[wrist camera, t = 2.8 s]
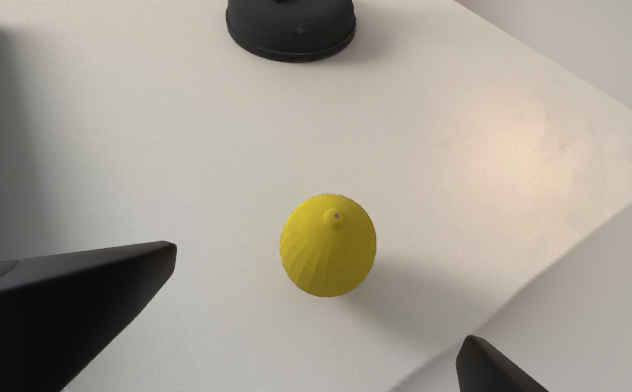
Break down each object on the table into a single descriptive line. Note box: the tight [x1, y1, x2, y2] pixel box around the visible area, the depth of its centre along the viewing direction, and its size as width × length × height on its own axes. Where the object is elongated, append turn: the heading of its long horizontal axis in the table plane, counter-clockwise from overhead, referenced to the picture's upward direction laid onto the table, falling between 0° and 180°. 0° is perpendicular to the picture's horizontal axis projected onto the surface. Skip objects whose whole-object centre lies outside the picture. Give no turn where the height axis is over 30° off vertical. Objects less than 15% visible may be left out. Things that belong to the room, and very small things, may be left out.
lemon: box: [280, 194, 376, 297], centre depth 17 cm, size 6×6×8 cm
